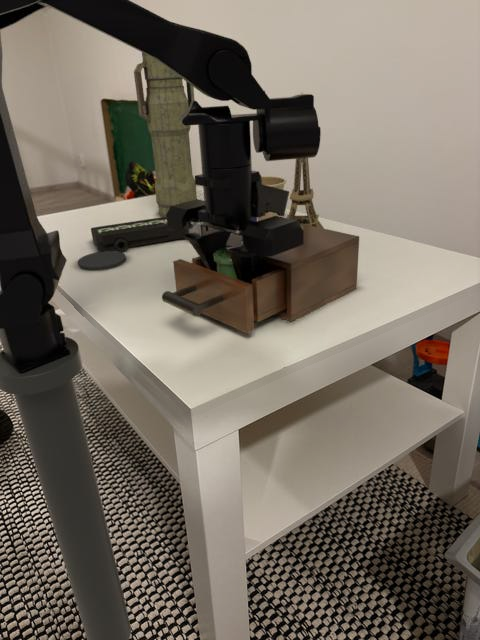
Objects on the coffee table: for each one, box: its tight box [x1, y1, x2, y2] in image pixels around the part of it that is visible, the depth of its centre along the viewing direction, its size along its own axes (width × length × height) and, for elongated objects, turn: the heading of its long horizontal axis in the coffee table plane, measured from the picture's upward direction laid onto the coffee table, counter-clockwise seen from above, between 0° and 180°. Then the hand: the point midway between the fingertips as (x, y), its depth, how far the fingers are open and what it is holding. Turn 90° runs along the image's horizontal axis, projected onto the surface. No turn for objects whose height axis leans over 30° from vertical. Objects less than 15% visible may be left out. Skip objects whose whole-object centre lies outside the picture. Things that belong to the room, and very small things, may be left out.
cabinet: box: [226, 224, 360, 322], centre depth 70 cm, size 14×15×8 cm
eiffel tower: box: [286, 158, 325, 229], centre depth 81 cm, size 11×11×25 cm
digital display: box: [90, 216, 189, 253], centre depth 97 cm, size 21×3×10 cm
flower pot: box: [258, 175, 287, 221], centre depth 100 cm, size 9×9×9 cm
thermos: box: [133, 52, 198, 217], centre depth 106 cm, size 9×12×35 cm
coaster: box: [77, 250, 127, 271], centre depth 87 cm, size 8×8×1 cm
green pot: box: [213, 247, 237, 279], centre depth 64 cm, size 5×5×6 cm
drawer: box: [161, 255, 287, 334], centre depth 64 cm, size 17×13×6 cm
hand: (234, 290), depth 65 cm, fingers closed on green pot, 4 cm apart
